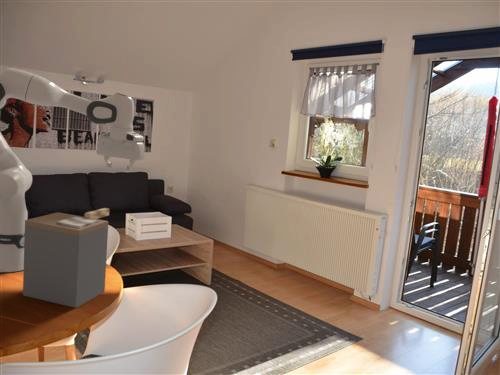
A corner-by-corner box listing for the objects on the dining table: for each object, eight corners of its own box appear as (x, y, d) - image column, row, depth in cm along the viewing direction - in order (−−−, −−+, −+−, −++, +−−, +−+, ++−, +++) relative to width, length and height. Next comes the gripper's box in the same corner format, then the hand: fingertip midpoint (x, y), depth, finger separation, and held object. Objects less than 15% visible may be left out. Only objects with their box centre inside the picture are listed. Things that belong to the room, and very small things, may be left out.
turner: (96, 212, 172) (96, 206, 172) (117, 216, 170) (117, 209, 169) (56, 224, 151) (56, 216, 151) (79, 228, 149) (80, 220, 148)
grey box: (22, 295, 156) (24, 220, 152) (55, 280, 171) (57, 212, 167) (76, 307, 150) (79, 230, 146) (104, 291, 165) (108, 221, 162)
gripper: (94, 132, 185) (92, 166, 187) (139, 137, 180) (137, 172, 182) (103, 132, 191) (101, 165, 193) (147, 137, 186) (145, 171, 188)
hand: (119, 168), depth 188 cm, fingers open, 8 cm apart
